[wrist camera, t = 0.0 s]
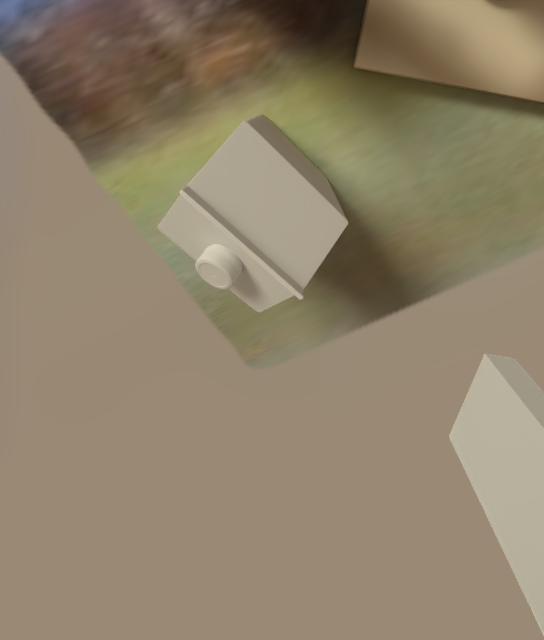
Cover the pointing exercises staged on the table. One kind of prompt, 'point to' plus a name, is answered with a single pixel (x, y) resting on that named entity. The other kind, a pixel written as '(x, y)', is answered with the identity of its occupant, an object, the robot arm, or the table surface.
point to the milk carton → (257, 217)
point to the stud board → (458, 44)
